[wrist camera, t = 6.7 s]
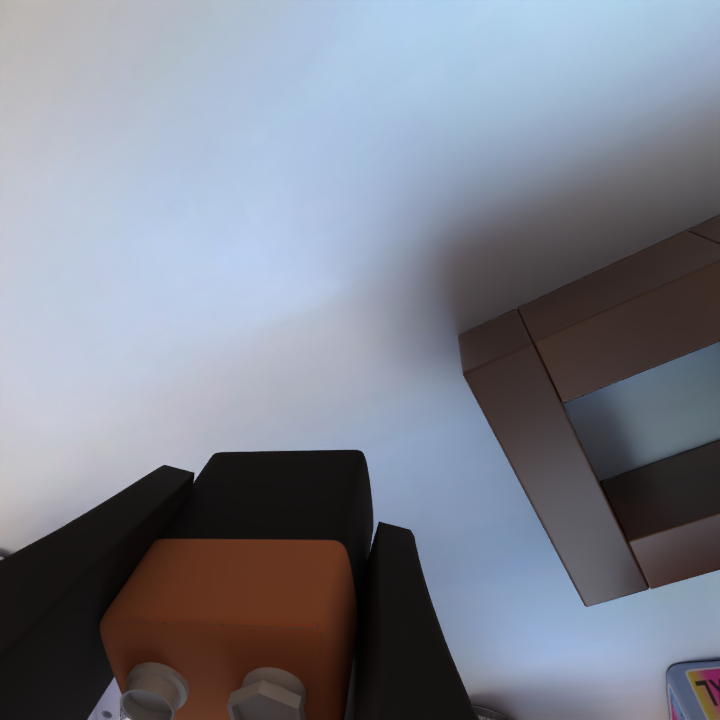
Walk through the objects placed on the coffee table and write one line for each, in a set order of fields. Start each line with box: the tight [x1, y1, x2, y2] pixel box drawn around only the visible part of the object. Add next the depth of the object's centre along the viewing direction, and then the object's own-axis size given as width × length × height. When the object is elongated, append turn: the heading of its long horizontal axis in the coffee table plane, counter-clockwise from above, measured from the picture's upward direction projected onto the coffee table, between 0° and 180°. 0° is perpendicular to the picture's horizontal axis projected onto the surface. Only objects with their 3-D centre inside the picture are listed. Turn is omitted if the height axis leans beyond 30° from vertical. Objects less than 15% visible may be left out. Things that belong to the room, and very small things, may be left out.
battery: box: [100, 450, 373, 720], centre depth 9 cm, size 2×3×5 cm, turn 96°
